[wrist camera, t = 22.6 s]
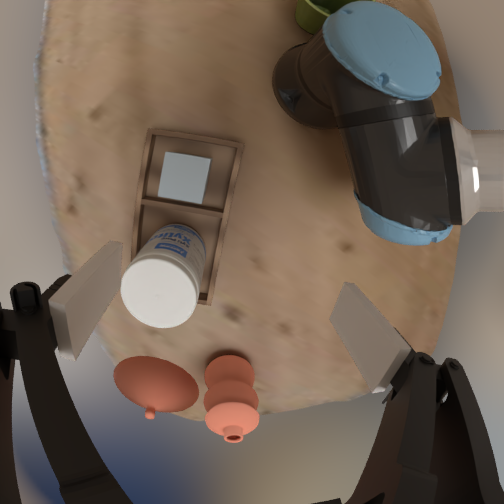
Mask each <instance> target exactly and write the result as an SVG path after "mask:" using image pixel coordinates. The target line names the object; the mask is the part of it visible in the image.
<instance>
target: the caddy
mask: <svg viewBox="0 0 504 504" xmlns="http://www.w3.org/2000/svg"><path fill="white" fill-rule="evenodd" d="M243 147H244V144H243V143H239V142H234V141H229V140H224V139H218V138H213V137H207V136H201V135H195V134H188V133H182V132H175V131H167V130H159V129H150V128H148V132H147V137H146V142H145V147H144V152H143V158H142V164H141V170H140V176H139V183H138V190H137V198H136V206H135V215H134V225H133V237H132V251H131V262H132V260H133V259H134V258H135V257H136V255H137V254H138V253H139V252H140V250H141V249H142V248H143V247H144V245H145V244H146V243H147V242H148V241H149V239H150V238H151V237H152V236H153V235H154V233H155V232H156V231H157V230H159V229H160V228H162V227H164V226H166V225H170V224H182V225H185V226H188V227H190V228H192V229H193V230H195V231H196V232H197V233H198V234H199V235H200V237H201V238H202V240H203V242H204V244H205V248H206V259H205V265H204V270H203V276H202V281H201V287H200V293H199V297H198V301H197V304H203V305H209V306H211V303H212V298H213V292H214V287H215V281H216V276H217V271H218V266H219V260H220V255H221V250H222V245H223V240H224V235H225V230H226V225H227V220H228V216H229V211H230V206H231V201H232V197H233V192H234V187H235V183H236V178H237V174H238V169H239V165H240V160H241V156H242V152H243ZM165 152H178V153H185V154H191V155H196V156H202V157H208V158H213V159H212V164H211V168H210V173H209V178H208V183H207V188H206V192H205V197H204V200H203V202H202V204H198V203H193V202H187V201H182V200H176V199H170V198H164V197H158V191H159V185H160V179H161V173H162V168H163V162H164V157H165Z"/></svg>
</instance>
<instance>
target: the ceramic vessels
mask: <svg viewBox="0 0 504 504" xmlns="http://www.w3.org/2000/svg"><path fill="white" fill-rule="evenodd" d="M113 377H114V381H115V383H116V386H117V388H118V389H119V390H120V391H121V393H122V394H123V395H124V396H125V397H126V398H128V399H129V400H130V401H132V402H134V403H135V404H137V405H139V406H141V407H144V408H146V411H145V417H146V418H148V419H154V416H155V411H158V412H178V411H182V410H185V409H187V408H189V407H191V406H192V405H193V404H194V403H195V402H196V401H197V399H198V396H199V389H198V385H197V383H196V382H195V380H194V379H193V378H192V376H191V375H190V374H189V373H187V372H186V371H185V370H184V369H182V368H181V367H179V366H177V365H176V364H173V363H171V362H169V361H166V360H163V359H160V358H155V357H149V356H137V357H131V358H127V359H125V360H123V361H121V362H120V363H119V364H118V365H117V366H116V367H115V369H114V374H113ZM205 383H206V385H207V387H208V389H209V390H208V391H207V392H206V394H205V397H204V406H205V409H206V411H207V412H208V413H207V414H206V416H205V420H206V424H207V426H208V427H209V429H210V430H212V431H214V432H215V433H217V434H220V435H223V436H224V439H225V441H227V442H231V443H235V442H240V441H242V440H243V435H245V434H247V433H249V432H251V431H252V430H254V429H255V428H256V427H257V426H258V423H259V414H258V412H257V411H256V410H257V407H258V403H259V399H258V397H257V394H256V392H255V390H254V389H253V388H252V387H253V384H254V371H253V368H252V366H251V365H250V364H249V363H248V362H247V361H246V360H245V359H243V358H241V357H238V356H234V355H225V356H220V357H218V358H216V359H214V360H213V361H211V362H210V364H209V365H208V366H207V368H206V370H205Z"/></svg>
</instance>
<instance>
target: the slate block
mask: <svg viewBox="0 0 504 504" xmlns="http://www.w3.org/2000/svg"><path fill="white" fill-rule="evenodd" d="M212 159H213V158H208V157H202V156H196V155H191V154H185V153H178V152H165V157H164V162H163V168H162V173H161V179H160V185H159V191H158V197H164V198H170V199H176V200H182V201H187V202H193V203H198V204H202V202H203V200H204V197H205V192H206V188H207V183H208V178H209V173H210V168H211V164H212Z"/></svg>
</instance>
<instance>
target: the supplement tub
mask: <svg viewBox="0 0 504 504" xmlns="http://www.w3.org/2000/svg"><path fill="white" fill-rule="evenodd" d="M205 259H206V248H205V244H204V242H203V240H202V238H201V237H200V235H199V234H198V233H197V232H196V231H195V230H193V229H192V228H190V227H188V226H185V225H182V224H170V225H166V226H164V227H162V228H160V229H159V230H157V231H156V232H155V233H154V235H153V236H152V237H151V238H150V239H149V241H148V242H147V243H146V244H145V245H144V247H143V248H142V249H141V250H140V252H139V253H138V254H137V255H136V257H135V258H134V259H133V260H132V262H131V263H130V264H129V266H128V267H127V269H126V271H125V273H124V275H123V277H122V280H121V296H122V299H123V302H124V304H125V306H126V308H127V309H128V310H129V312H130V313H131V314H132V315H133V316H134V317H135V318H137V319H138V320H139V321H141V322H143V323H145V324H147V325H149V326H153V327H157V328H171V327H175V326H178V325H180V324H182V323H184V322H185V321H186V320H187V319H188V318H189V317H190V316H191V315H192V313H193V311H194V309H195V306H196V304H197V301H198V297H199V293H200V287H201V281H202V276H203V270H204V265H205Z"/></svg>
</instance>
